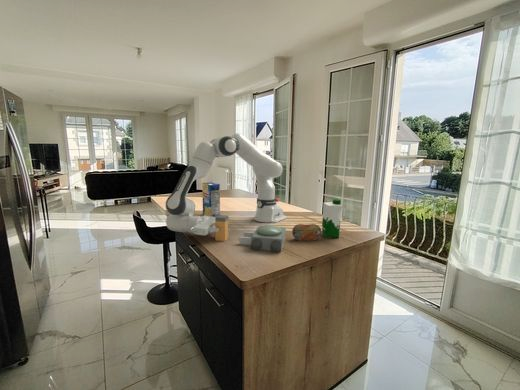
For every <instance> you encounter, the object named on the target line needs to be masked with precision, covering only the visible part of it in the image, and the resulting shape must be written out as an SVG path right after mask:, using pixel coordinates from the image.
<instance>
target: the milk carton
mask: <svg viewBox="0 0 520 390" xmlns="http://www.w3.org/2000/svg"><path fill="white" fill-rule="evenodd" d="M341 202H342V201H341V199H337V198H335V199H332V202H331V201H328V202H323V204H322V205H323V206H322V207H323V210H322V224H321V231H322V233H321V235H322V236H323V237H325V238H326V237H339V238H340V229H341V219H342V218H341V217H342V210H343V205H342V203H341Z"/></svg>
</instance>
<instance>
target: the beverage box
mask: <svg viewBox="0 0 520 390" xmlns="http://www.w3.org/2000/svg"><path fill="white" fill-rule="evenodd" d="M201 184H202V187H201V188H202V215H206V216H211V217H216V216H218V215H221V184H219V183H216V182H211V181H210V182H202V183H201Z"/></svg>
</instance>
